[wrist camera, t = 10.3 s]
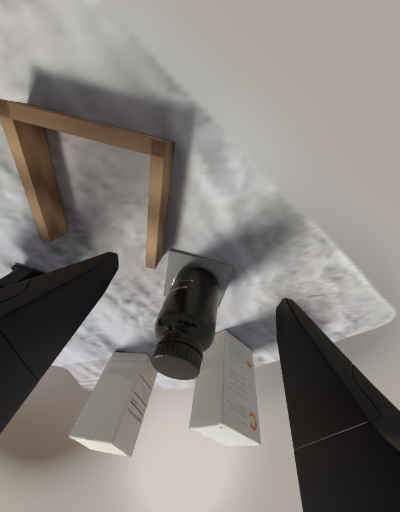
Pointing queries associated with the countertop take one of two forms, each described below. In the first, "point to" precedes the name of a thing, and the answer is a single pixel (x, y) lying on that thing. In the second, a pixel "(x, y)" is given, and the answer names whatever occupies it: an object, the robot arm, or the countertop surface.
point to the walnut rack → (43, 178)
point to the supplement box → (117, 405)
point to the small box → (226, 394)
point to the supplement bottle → (186, 324)
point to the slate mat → (183, 260)
